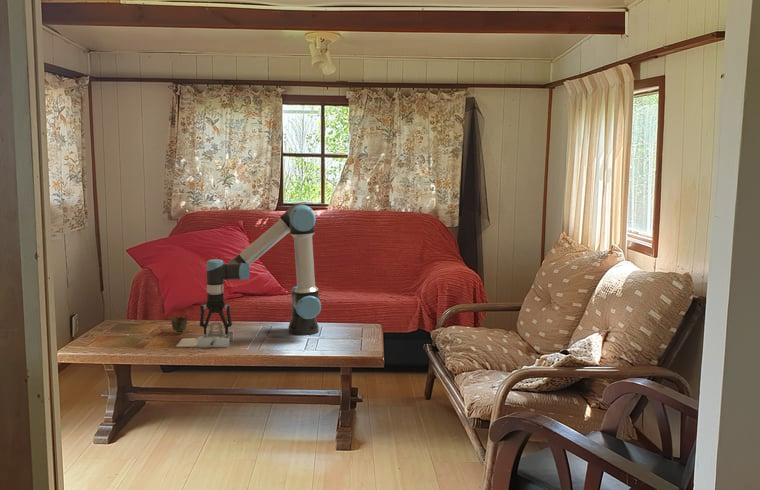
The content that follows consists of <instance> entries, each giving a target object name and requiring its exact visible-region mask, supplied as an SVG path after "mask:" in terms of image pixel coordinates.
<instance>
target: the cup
mask: <svg viewBox="0 0 760 490" xmlns="http://www.w3.org/2000/svg"><path fill="white" fill-rule="evenodd" d="M187 323H188V317H186V316H185V317H183V316H180V315H179V316H176V317H175V316H174V317H172V318H171V324H172V325H171V326H172V329H173V330H174V332H175V335H178V336H179V335H184V331H185V330H186V329H187Z"/></svg>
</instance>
